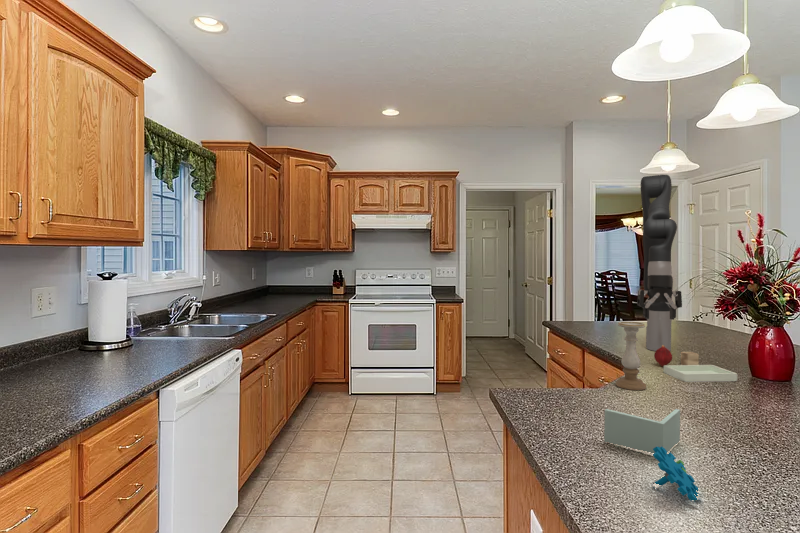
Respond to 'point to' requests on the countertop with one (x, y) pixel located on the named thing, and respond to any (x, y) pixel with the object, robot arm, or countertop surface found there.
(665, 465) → the teal irregular piece
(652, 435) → the right angle wall
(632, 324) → the candle holder
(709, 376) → the tray
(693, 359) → the maple block
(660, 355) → the pomegranate
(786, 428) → the countertop surface
